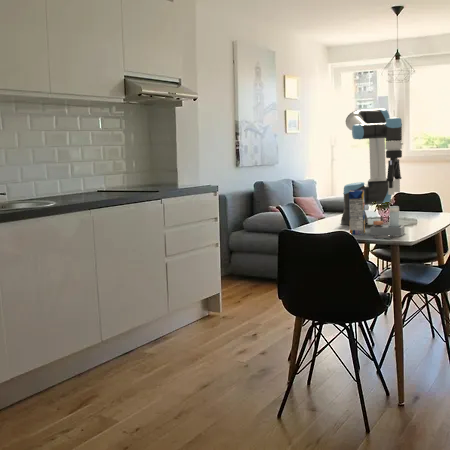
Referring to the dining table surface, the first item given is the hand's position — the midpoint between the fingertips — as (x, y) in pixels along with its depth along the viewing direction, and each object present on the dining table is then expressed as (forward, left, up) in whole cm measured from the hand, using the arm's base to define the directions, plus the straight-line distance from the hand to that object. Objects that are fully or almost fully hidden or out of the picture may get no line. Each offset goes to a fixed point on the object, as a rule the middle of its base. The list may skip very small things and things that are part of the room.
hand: (394, 193), depth 295 cm
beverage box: (-19, +1, -21) cm, 28 cm away
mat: (-3, -11, -21) cm, 23 cm away
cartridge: (0, 0, -21) cm, 21 cm away
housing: (-4, 0, -21) cm, 21 cm away
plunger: (-8, 0, -20) cm, 21 cm away
